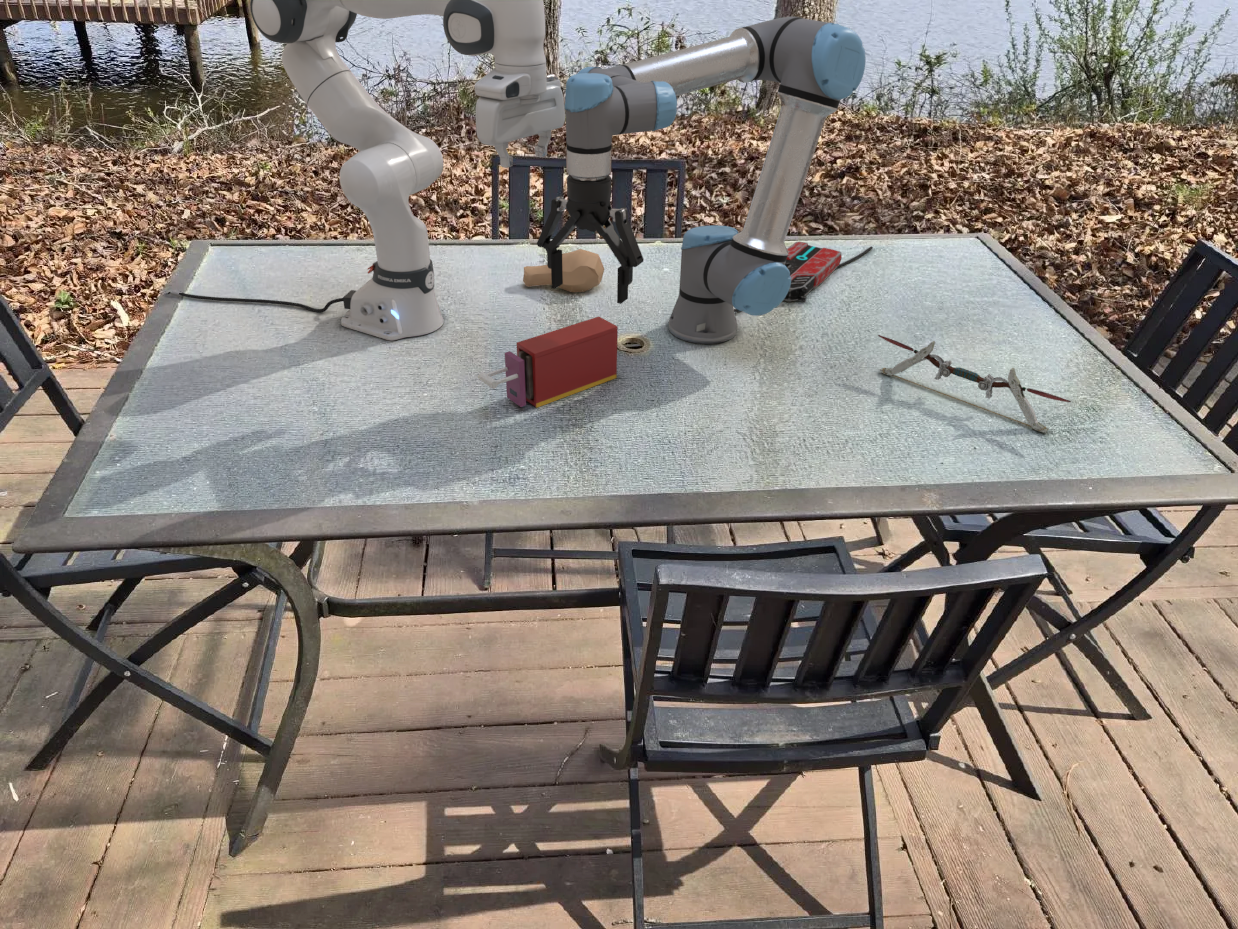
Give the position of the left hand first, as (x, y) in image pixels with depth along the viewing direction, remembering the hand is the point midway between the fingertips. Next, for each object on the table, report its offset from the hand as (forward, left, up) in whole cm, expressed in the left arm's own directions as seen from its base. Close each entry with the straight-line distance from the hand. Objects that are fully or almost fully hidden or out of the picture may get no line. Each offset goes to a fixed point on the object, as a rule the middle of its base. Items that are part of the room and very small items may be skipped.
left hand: (524, 161), depth 160 cm
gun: (+43, +66, -40) cm, 88 cm away
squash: (-8, +39, -40) cm, 56 cm away
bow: (+85, +14, -40) cm, 95 cm away
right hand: (+16, -10, -19) cm, 27 cm away
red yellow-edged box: (+11, -8, -40) cm, 43 cm away
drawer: (+8, -14, -39) cm, 43 cm away
